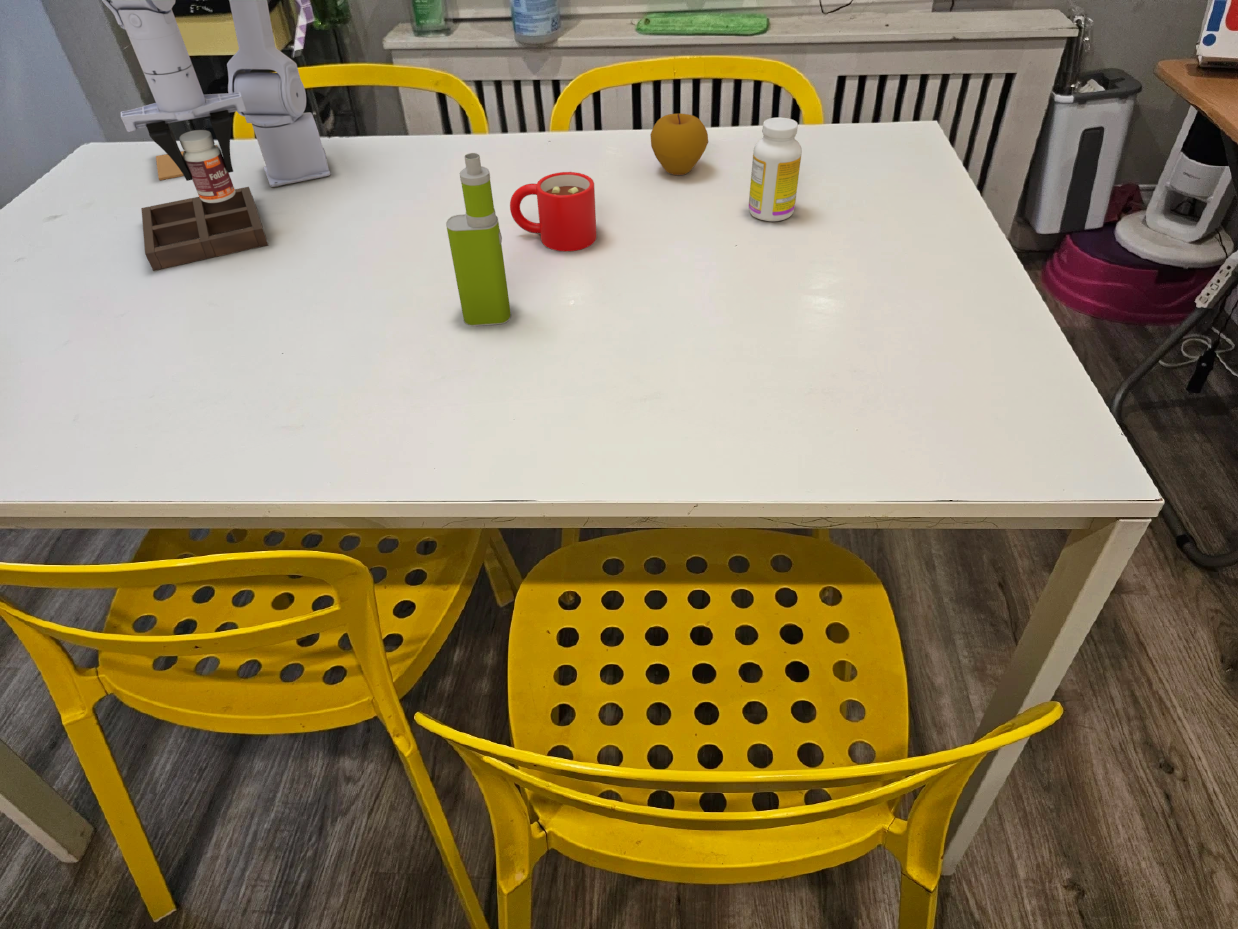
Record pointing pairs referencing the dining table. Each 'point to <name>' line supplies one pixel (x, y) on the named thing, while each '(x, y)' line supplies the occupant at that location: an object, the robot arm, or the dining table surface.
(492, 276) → the vape
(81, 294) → the dining table surface
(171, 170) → the cork mat
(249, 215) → the rack
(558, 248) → the mug
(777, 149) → the supplement bottle
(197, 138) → the pill bottle
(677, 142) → the apple
